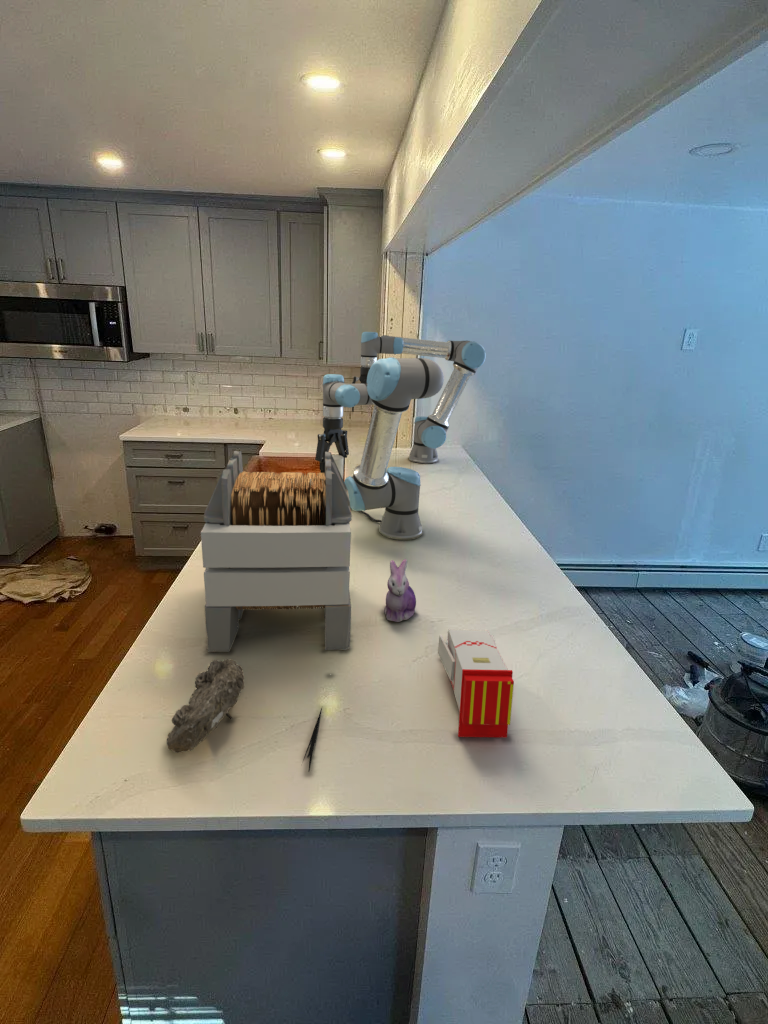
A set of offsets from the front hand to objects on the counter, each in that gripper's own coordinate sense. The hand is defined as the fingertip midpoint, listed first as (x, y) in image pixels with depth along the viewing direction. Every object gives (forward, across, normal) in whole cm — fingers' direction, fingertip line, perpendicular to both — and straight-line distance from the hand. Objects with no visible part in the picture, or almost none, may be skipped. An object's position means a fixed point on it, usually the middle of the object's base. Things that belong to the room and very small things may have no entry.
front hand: (332, 476), depth 217 cm
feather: (+13, +88, +82) cm, 121 cm away
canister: (+3, 0, 0) cm, 3 cm away
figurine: (+13, +46, +69) cm, 84 cm away
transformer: (+13, +67, +48) cm, 83 cm away
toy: (+13, +61, +99) cm, 118 cm away
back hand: (-14, -56, -31) cm, 66 cm away
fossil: (+13, +101, +67) cm, 122 cm away
